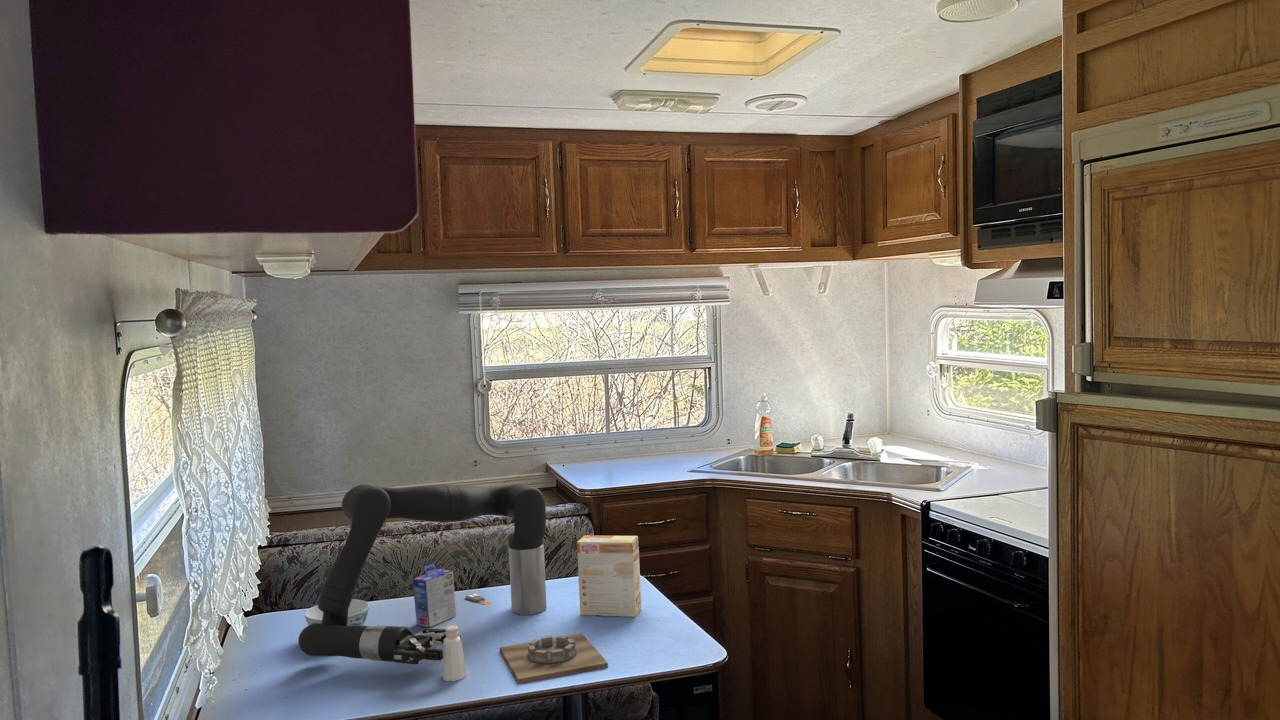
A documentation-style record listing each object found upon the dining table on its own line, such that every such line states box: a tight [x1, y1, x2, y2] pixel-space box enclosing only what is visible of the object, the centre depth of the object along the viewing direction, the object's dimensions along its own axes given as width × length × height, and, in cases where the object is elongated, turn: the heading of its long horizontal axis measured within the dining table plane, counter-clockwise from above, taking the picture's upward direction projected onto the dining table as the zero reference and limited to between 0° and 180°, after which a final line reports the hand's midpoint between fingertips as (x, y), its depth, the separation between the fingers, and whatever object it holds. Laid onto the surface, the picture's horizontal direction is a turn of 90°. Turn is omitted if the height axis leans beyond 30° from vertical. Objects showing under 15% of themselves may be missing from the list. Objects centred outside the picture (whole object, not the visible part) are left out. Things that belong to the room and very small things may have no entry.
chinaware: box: [304, 598, 370, 626], centre depth 219 cm, size 15×15×8 cm
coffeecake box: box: [576, 535, 642, 618], centre depth 231 cm, size 15×7×20 cm, turn 77°
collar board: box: [499, 632, 609, 684], centre depth 201 cm, size 20×20×4 cm
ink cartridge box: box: [412, 563, 457, 628], centre depth 230 cm, size 10×6×14 cm, turn 148°
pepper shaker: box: [441, 625, 468, 682], centre depth 193 cm, size 5×5×11 cm
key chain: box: [465, 593, 491, 607], centre depth 244 cm, size 13×4×2 cm, turn 44°
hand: (451, 647), depth 193 cm, fingers open, 8 cm apart
